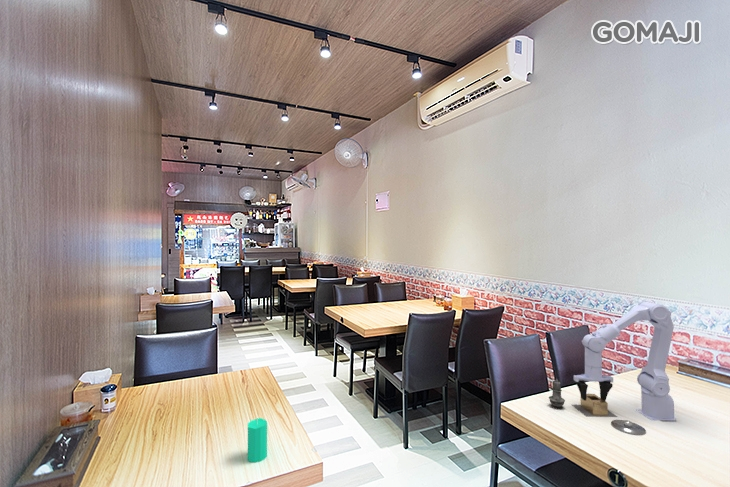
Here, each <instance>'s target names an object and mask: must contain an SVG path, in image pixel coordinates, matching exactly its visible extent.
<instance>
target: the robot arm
mask: <svg viewBox="0 0 730 487" xmlns="http://www.w3.org/2000/svg"><path fill="white" fill-rule="evenodd" d="M638 321H649V323H650V324H651V325H652V327H653V328H654V329H653V333H652V338H651V344H650V348H649V352H648V358H647V362H646V365H645V366H643V367H641V371H640V372H639V373H638V375H637V378H636V381H637V384H638V385H639V386H640V392H641V395H640V396H641V409H635V412H638V413H639V414H641V415H642V416H644V417H646V418H647V419H649V420H650V421H660V422H661V421H662V422H663V421H667V422H668V421H672V422H674V421H675V422H676V421H677V418H675V402H674V399H673V397H672V396H671V395H670V394H669V393H670V391H671V387H670V383H669V381H670V377H669V376H668V374H667V373H666V366H667V363H668V357H669V353H670V346H671V343H672V338H673V334H674V327H675V326H674V323H673V319H672V311H671V310H669V308H668V307H667V306H665V305H663V304H660V303H659V304H658V303H653V302H650V301H646V300H642V301H640V302H638V304H635V305H633V306H632V307H631V309H630V310H629V311H627V313H625V314H623V315H622V316H621V317H620V318H618V319H617V320H616V321H615V322H613V323H603V324H602V325H601V327H600V328H598V329H597V330H594V331H591V333H589V334H586V335H584V337H583V338H582V340H581V343H582V345H583V347H584V373H581V374H577V375H575V374H574V375H573V381H574V382H575V384H576V386H577V389H578V391H579V394H580V399H581V398H582V399H583V400H586V398H587V394H588V393H587V392H588V387H589V385H588V384H587V383H586V382H595V383H596V382H598V386H599V396H600V398H601V399H603V400H604V401H606V400H607V397H608V394H609V392H611V391H610V390H612V388H613V385H614V384H613V383H614V377H613V376H611V375H605V374H604V375H603V366H602V363H603V361H602V360H603V359H602V358H603V355H602V352H603V351H604V350H605V348H606V345H607V344H609V343H611V342H612V341H613V340H615V339H616V338H618V337H619V336H620V335H621V334H620V333H621V331H623V330H624V329H626V328H628V327H630V326H631V325H633V324H634V323H637V322H638ZM606 402H607V401H606Z"/></svg>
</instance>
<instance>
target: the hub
mask: <svg viewBox="0 0 730 487" xmlns="http://www.w3.org/2000/svg"><path fill="white" fill-rule="evenodd" d="M610 425H611V426H612V427H613V429H615V430H617V431H618V432H621V433H624V434H627V435H632V436H644V435H646V434H647V431H646V429H645V427H643V426H642V425H639V424H637V423H635V422H633V421H631V420H628V419H613V420H612V421H610Z"/></svg>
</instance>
